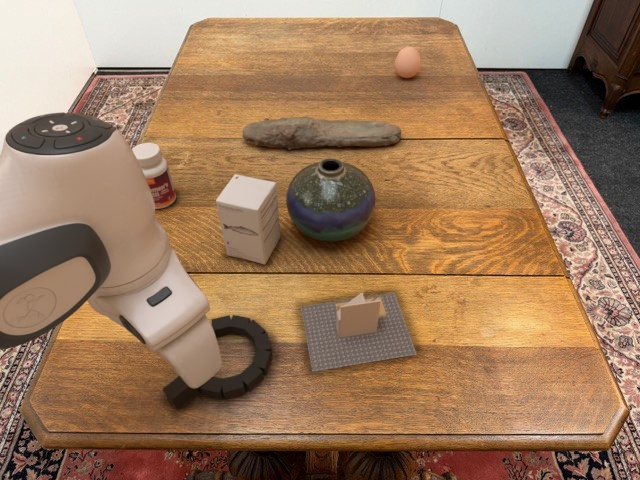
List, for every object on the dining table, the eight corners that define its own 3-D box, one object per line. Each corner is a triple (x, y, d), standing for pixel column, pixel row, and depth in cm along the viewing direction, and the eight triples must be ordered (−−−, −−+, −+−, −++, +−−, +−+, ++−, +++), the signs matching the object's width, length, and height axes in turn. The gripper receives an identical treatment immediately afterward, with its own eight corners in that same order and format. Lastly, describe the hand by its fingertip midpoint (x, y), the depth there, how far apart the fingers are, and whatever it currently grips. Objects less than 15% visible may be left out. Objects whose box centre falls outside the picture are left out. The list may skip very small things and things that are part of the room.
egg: (392, 71, 128) (395, 41, 123) (417, 71, 128) (421, 42, 122) (394, 82, 124) (397, 52, 118) (419, 82, 123) (424, 53, 118)
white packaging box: (225, 256, 80) (213, 200, 71) (244, 228, 85) (234, 171, 76) (265, 266, 79) (257, 210, 70) (282, 237, 84) (276, 180, 75)
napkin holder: (334, 318, 71) (334, 287, 66) (378, 312, 72) (382, 280, 67) (338, 338, 69) (339, 307, 63) (384, 330, 70) (389, 299, 64)
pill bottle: (148, 214, 88) (130, 164, 80) (141, 195, 92) (123, 146, 84) (180, 203, 90) (166, 154, 82) (172, 185, 94) (157, 137, 86)
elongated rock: (402, 157, 102) (396, 134, 110) (406, 136, 99) (400, 113, 106) (240, 151, 101) (245, 128, 109) (238, 129, 98) (244, 107, 105)
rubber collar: (200, 436, 59) (195, 426, 57) (147, 376, 65) (141, 365, 63) (288, 356, 67) (287, 345, 65) (234, 309, 73) (231, 297, 70)
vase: (271, 221, 86) (264, 162, 77) (334, 187, 93) (335, 128, 84) (325, 270, 78) (325, 209, 69) (390, 228, 85) (398, 168, 75)
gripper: (48, 236, 49) (96, 314, 59) (159, 355, 39) (195, 425, 49) (104, 206, 52) (141, 285, 62) (220, 309, 42) (242, 383, 52)
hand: (165, 347), depth 55 cm, fingers open, 8 cm apart
